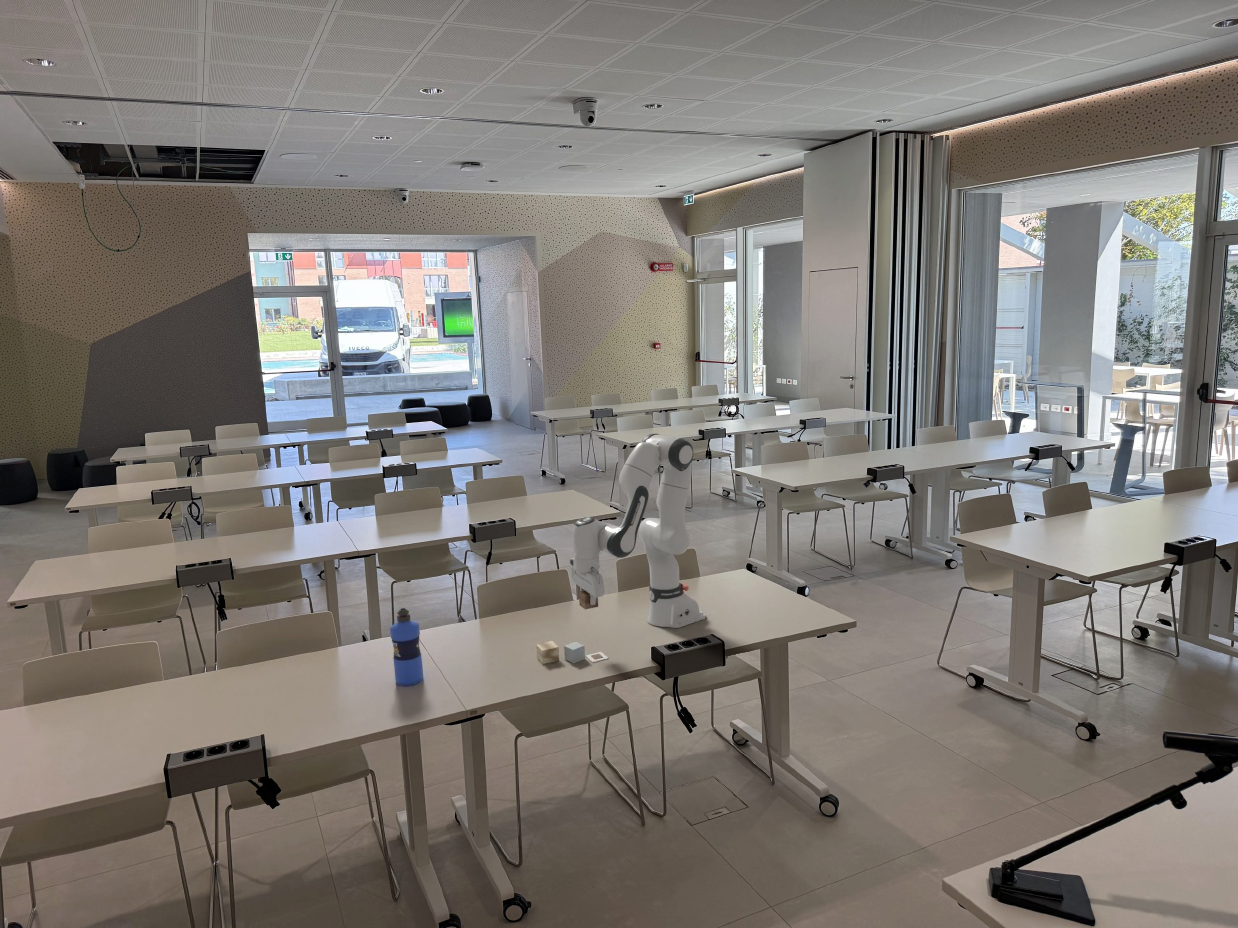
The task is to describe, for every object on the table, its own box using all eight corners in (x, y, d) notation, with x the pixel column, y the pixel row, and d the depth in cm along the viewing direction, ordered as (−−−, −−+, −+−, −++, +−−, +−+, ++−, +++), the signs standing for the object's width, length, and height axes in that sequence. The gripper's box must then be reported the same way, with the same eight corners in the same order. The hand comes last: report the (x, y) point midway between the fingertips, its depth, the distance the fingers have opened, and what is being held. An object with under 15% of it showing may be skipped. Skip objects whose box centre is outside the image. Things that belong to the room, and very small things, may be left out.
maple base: (553, 654, 298) (552, 640, 297) (559, 660, 292) (558, 646, 291) (537, 657, 295) (536, 644, 294) (542, 664, 290) (542, 650, 289)
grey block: (576, 654, 296) (575, 641, 295) (585, 659, 293) (584, 645, 292) (564, 659, 293) (564, 645, 292) (573, 663, 289) (572, 649, 288)
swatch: (601, 652, 297) (600, 651, 297) (608, 658, 292) (608, 657, 292) (585, 656, 295) (585, 654, 295) (592, 662, 289) (592, 661, 289)
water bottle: (399, 688, 276) (391, 616, 271) (392, 678, 284) (385, 607, 279) (427, 681, 280) (420, 610, 275) (419, 671, 288) (413, 601, 283)
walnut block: (592, 602, 302) (591, 589, 301) (598, 606, 298) (597, 593, 297) (579, 605, 300) (578, 591, 299) (585, 609, 295) (584, 595, 294)
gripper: (608, 570, 288) (609, 608, 291) (583, 555, 306) (585, 591, 309) (591, 573, 285) (592, 612, 288) (567, 558, 303) (569, 594, 306)
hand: (588, 601), depth 298 cm, fingers closed on walnut block, 5 cm apart
